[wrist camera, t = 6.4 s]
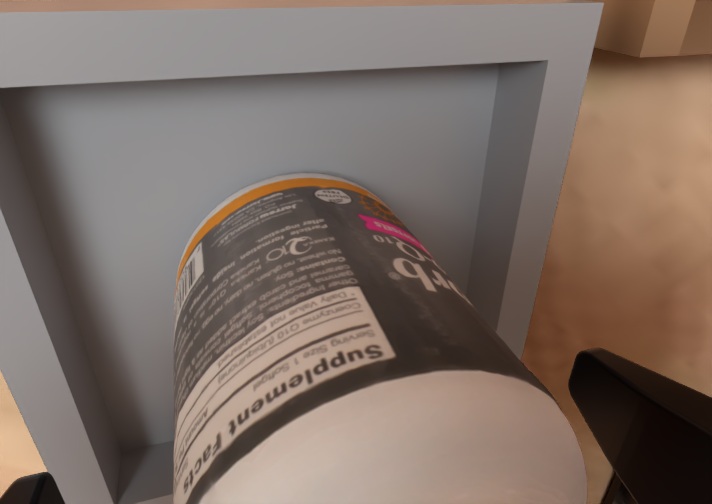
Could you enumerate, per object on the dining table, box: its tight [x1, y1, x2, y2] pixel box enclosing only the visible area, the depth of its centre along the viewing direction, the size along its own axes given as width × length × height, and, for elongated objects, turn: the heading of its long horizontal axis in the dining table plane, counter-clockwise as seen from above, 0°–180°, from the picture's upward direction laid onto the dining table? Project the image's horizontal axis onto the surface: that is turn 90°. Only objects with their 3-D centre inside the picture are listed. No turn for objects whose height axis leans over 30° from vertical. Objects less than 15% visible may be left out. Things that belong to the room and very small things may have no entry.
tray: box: [0, 0, 604, 504], centre depth 12 cm, size 12×12×2 cm
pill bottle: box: [173, 173, 587, 504], centre depth 8 cm, size 6×6×10 cm
